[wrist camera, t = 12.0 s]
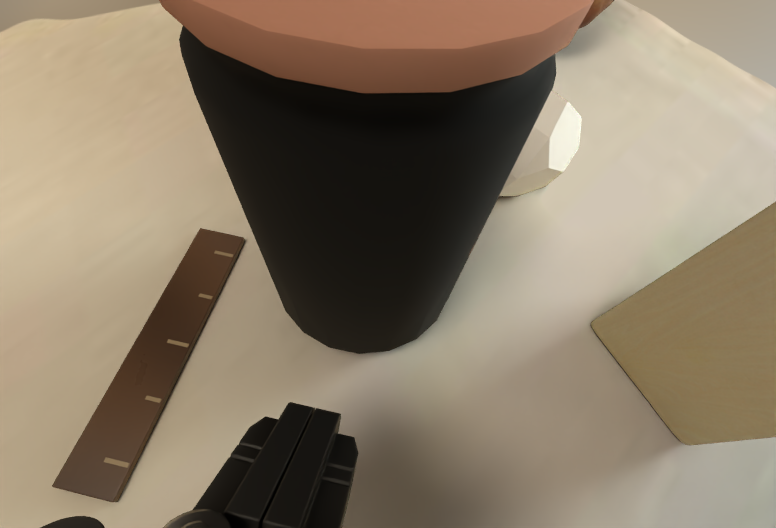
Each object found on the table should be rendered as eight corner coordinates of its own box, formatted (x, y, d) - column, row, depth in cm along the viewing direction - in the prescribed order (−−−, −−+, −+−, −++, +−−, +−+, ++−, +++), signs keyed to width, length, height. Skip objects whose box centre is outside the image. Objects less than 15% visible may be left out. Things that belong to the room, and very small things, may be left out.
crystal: (303, 16, 32) (516, 198, 23) (363, -52, 31) (606, 112, 22) (342, 73, 39) (517, 229, 30) (392, 19, 38) (586, 164, 29)
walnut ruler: (117, 502, 18) (112, 502, 17) (56, 486, 18) (50, 486, 17) (245, 240, 25) (243, 237, 25) (202, 231, 25) (199, 227, 25)
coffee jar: (472, 334, 23) (717, 22, 7) (294, 381, 21) (107, 82, 5) (417, 200, 28) (494, -157, 12) (269, 227, 26) (135, -164, 10)
